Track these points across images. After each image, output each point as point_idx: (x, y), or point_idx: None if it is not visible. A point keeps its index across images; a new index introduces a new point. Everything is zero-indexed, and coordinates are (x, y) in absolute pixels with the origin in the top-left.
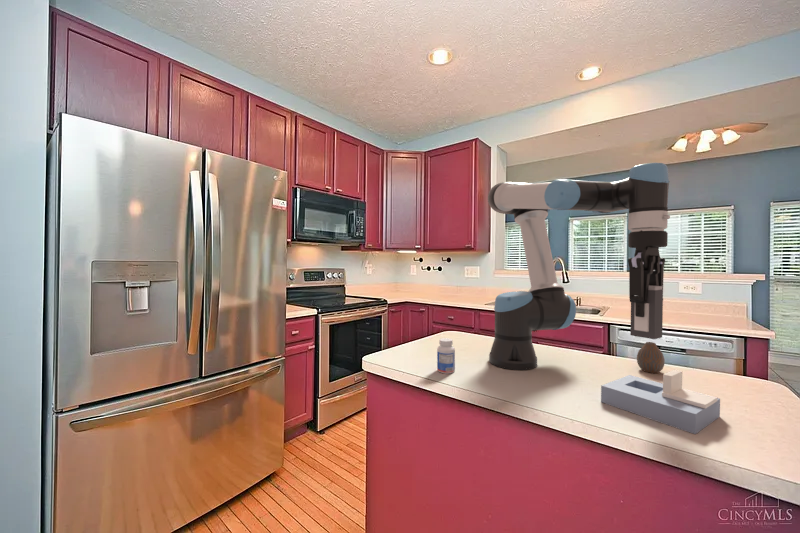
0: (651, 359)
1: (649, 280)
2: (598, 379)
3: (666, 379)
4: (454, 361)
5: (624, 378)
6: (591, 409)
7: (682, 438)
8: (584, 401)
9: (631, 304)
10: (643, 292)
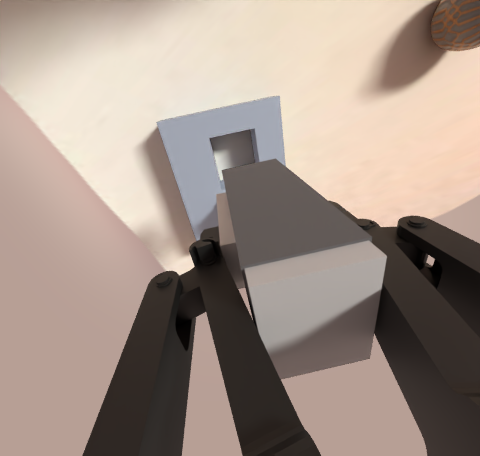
0: (454, 30)
1: (400, 348)
2: (273, 4)
3: None
4: None
5: (245, 109)
6: (119, 138)
7: (176, 239)
8: (131, 104)
9: (231, 215)
10: (190, 347)
